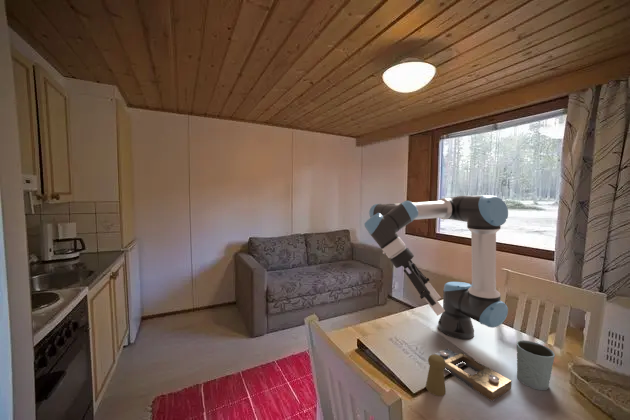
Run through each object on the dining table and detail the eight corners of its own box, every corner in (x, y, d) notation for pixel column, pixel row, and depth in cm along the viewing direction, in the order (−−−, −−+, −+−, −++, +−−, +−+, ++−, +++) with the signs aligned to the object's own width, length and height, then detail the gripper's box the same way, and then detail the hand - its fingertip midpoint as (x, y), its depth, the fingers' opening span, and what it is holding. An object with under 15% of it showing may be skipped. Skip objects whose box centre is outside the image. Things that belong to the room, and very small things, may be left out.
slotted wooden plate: (428, 359, 103) (429, 349, 102) (447, 351, 108) (447, 342, 108) (492, 401, 82) (492, 388, 82) (510, 389, 88) (511, 377, 87)
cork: (437, 398, 83) (439, 365, 82) (421, 386, 88) (423, 354, 88) (449, 392, 86) (451, 359, 85) (433, 380, 91) (435, 349, 90)
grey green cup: (510, 378, 93) (512, 346, 92) (519, 367, 99) (521, 336, 98) (548, 396, 85) (550, 361, 84) (555, 383, 91) (558, 350, 90)
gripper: (392, 253, 105) (427, 300, 100) (385, 265, 81) (431, 326, 76) (407, 243, 103) (445, 289, 98) (405, 251, 79) (454, 313, 74)
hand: (439, 305), depth 87 cm, fingers open, 13 cm apart
